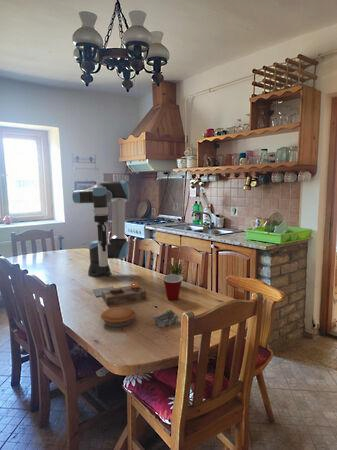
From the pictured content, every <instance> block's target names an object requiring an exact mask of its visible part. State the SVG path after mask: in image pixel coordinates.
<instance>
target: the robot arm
mask: <svg viewBox="0 0 337 450" xmlns="http://www.w3.org/2000/svg"><path fill="white" fill-rule="evenodd" d="M71 197H72V198H71V199H72V200H73V203H74V204H93V209H92V212H93V214H94V216H93V221H94V222H95V223H97V226H96V227H97V239H95V240H92V241H91V242H90V243H89V244H88V246H89V247H88V249H89V262H90V263H89V268H88V270H87V275H88V276H89V277H104V276H108V275H110V274H111V267H110V265H109V264H108V266H105V267H100V266H99V254H98V241H101V245H100V246H101V256H102V257H107V254H106V245H107V253H108V260H109V259H110V260H111V259H114V260H115V259H116V260H118V259H119V260H120V259H126V258H127V257H128V255H129V250H130V242H129V241H128V240H127V238H126V236H125V228H126V225H125V224H126V203H127V202H128V199H129V198H130V197H131V191H130V186H129V183H128V181H125V180H116V181H108V180H107V181H102V182H98V183H95V184H93V185H92V186H91V187H88V188H86V189H83V190H79V189H78V190H74V191H72V196H71ZM109 202H112V221H111V222H112V223H111V228H112V229H111V237H110V238H109V241H108V240H107V225H105V223H108V221H109V215H108V214H109V211H108V207H109V206H108V203H109Z"/></svg>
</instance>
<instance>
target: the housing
mask: <svg viewBox="0 0 337 450" xmlns="http://www.w3.org/2000/svg"><path fill="white" fill-rule="evenodd" d="M101 297H102V299H103V301H104V303H105V304H106V306H113V305H118V304H125V303H130V302H136V301H142V300H146V299H147V291H146V290H145V289H144V288H143V287H141V285H139V288H138V289H137V290H134V289H131V285H127V286H121V287H114V288H113V289H107V290H102V296H101Z"/></svg>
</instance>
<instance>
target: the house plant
mask: <svg viewBox="0 0 337 450" xmlns="http://www.w3.org/2000/svg"><path fill="white" fill-rule="evenodd" d="M185 261H186V260H183V261H181V262H180V263H179V264H178V261H177V260H173V259H172V262H173V263H174V265H173V264H172V263H171V262H168V264H169V265H166V266H168V267H169V268H170V269H169V270H168V269H167V270H166V271H167V273H166V275H172V274H174V275H179V276H181V277H183V275H185V273H186V271H185V270H184V269H185V267H184V266H186V263H184V262H185ZM183 263H184V264H183ZM182 274H183V275H182ZM181 286H182V285H181ZM181 286H180V288H181Z"/></svg>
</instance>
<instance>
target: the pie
mask: <svg viewBox="0 0 337 450" xmlns="http://www.w3.org/2000/svg"><path fill="white" fill-rule="evenodd" d="M135 316H136V311H135V309H133V308H131V307H127V306H114V307H110V308H108V309H106V310H104V311H103V312H101V315H100V317H101V319H102V320H103V321H104V323H105V324H106V325H107V326H109V327H112V328H119V327H121V328H122V327H125V326H127V325H129V324H131V323H132V321H133V319H134V317H135Z"/></svg>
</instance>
